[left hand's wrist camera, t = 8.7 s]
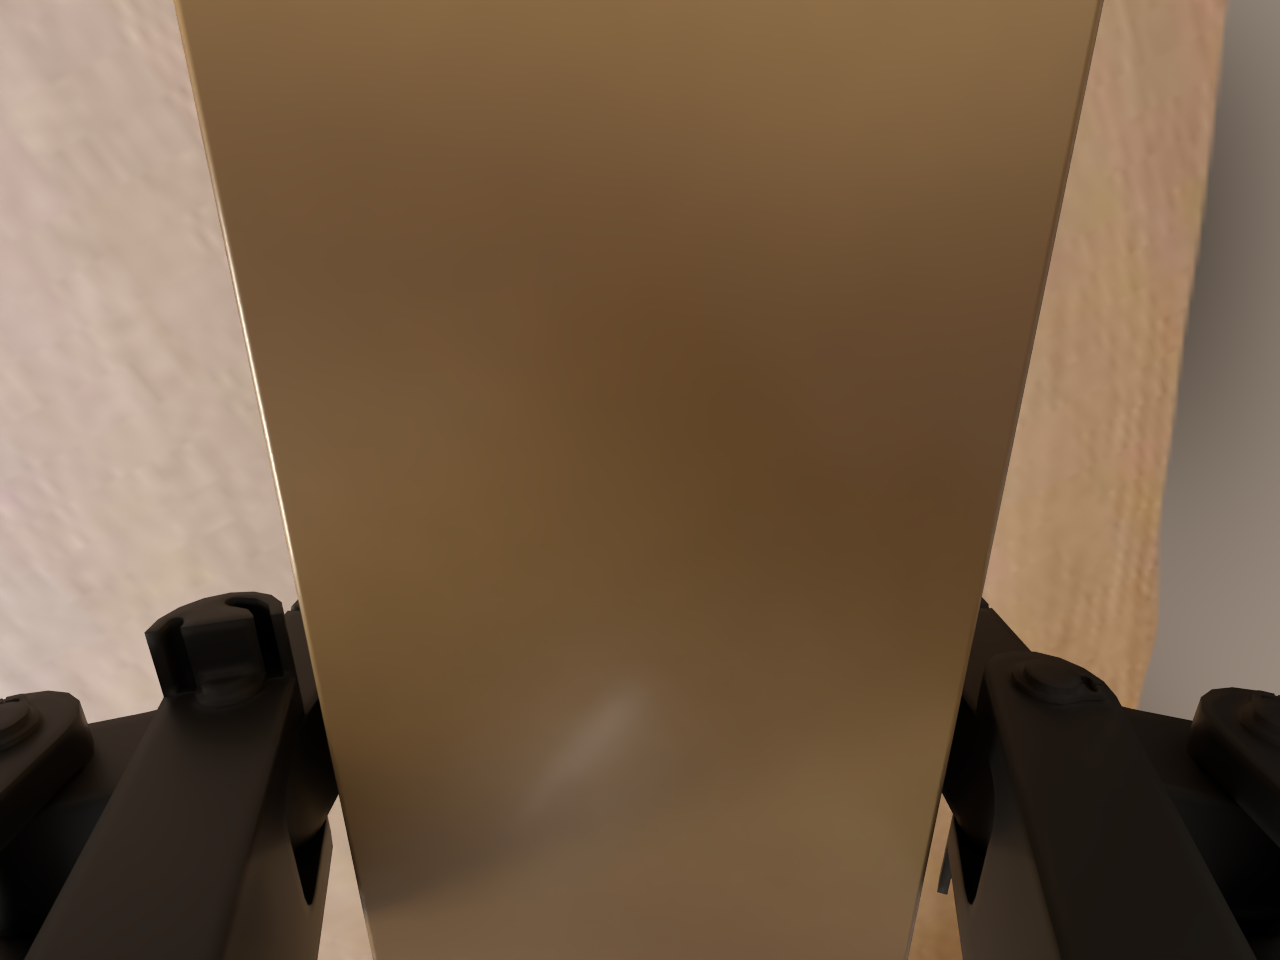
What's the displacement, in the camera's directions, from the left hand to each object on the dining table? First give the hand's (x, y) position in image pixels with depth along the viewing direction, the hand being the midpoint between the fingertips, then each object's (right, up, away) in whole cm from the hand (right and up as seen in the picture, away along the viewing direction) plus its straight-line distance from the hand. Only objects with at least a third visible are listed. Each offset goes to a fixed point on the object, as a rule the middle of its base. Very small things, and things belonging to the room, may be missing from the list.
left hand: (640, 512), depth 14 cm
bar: (0, +9, -3) cm, 10 cm away
